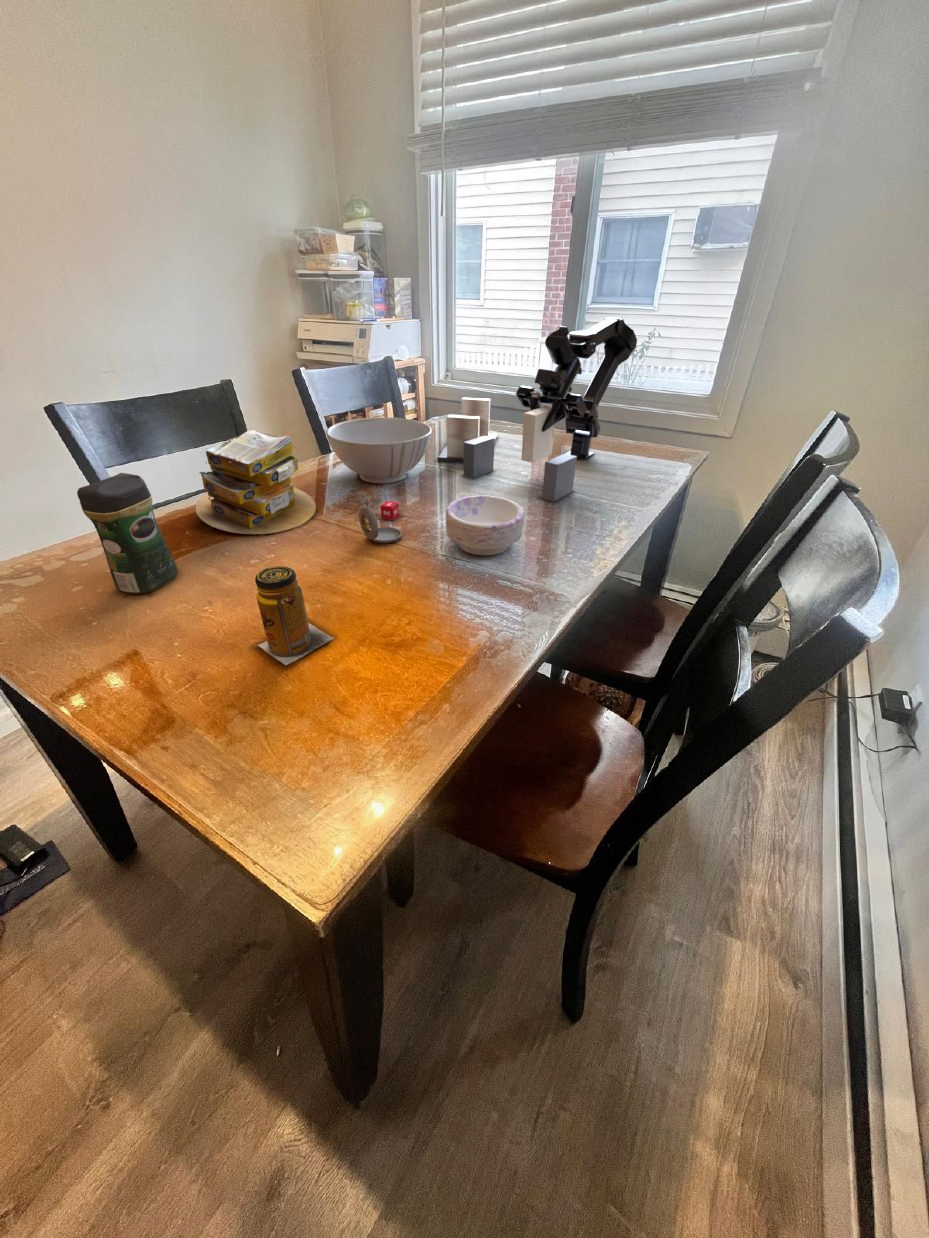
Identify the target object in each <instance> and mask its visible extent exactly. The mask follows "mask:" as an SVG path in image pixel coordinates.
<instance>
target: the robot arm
mask: <svg viewBox="0 0 929 1238" xmlns="http://www.w3.org/2000/svg"><path fill="white" fill-rule="evenodd" d="M544 344H545V347H546V350H547V352H548V355H549V357H550V359H551V361H552V363H553V364H554V365H556V366H555V368H554V370H552V369H544V368H538V369H537V372H536V375H535V376H536V377H535V379H534V383H535V384H537V385H539V388H538V389H539V391H540V392H542V393H540V392H538V391H535V389H534V387H532V386H526V385H521V386H519V387H518V389H517V390H516V392H515V395H516V397H517V399H518V401H519V403H520V404H521V406H522V407H523V408H526V409H529V411H532V410H535V409H538V408H541V407H542V405H547V406H548V405H549V406H551V408H552V409H551V411H550V413H549V415H548V417H547V419H546V421H545V422H544V425H543V427H542V431H543V432H545V431H546V430H547V429H549V428H550V427H551V426H553V425H554V426H555V424H558V423H559V422H560V421H562V420H564V421H565V433H566V434H571V442H570V443H571V444H570V450H569V451H568V452H566V453H565V454H569V455H573V456H577V459H583V460H585V459H588V458H590V457H591V456H592V455H594V452H593V451H591V445H592V439H593V438H598V436H599V434H600V431H601V426H600V423H599V420H598V419H599V411H598V406H599V405H600V403H601V401H602V398H604V395H605V393H606V391H607V389H608V388H609V385H610V383H611V381H612V379H613V377H614V375H615V373H616V371H617V370H618V368H619V366H620V365H621V364H623V363H624V362H626V361H627V360H629V359H630V357H631V355H632V354H633V352H634V351H635V350H636V347H637V344H638V338H637V335H636V333H635V330H633V329H632V328H631V327H630V326H629V325H627V324H626V323H625V320H624V318H621V317H612V316H608V317H605V318H604V319H603V320H602V321H600V322H599V323H597V324H595V325H593V326H591V327H590V328H588V329H586V330H575V331H571V332H570V331H569V328H568V326H562V325H561V326H559V328H558V329H557V330H555V331H552V332H551V333H550V334H549V335H547V336H546V338H545V342H544ZM601 344H603V351H604V356H603V359H602V361H601V362H600V364H599V366H598V368H597V370H596V372H595V374H594V375H593V378H592V379H591V382H590V383H589V385H588V386H587V387H588V388H587V389H586V392H585V393H584V395H583V396H582V394H576V393H571V392H572V390H573V387H572V385H573V383H574V381H575V378H576V377H577V375H582V373H583V368H582V362H581V361H580V359H585V360H588V359H590V358H591V357H592V356H594V354H595V353H596V351H597V347H598V346H599V345H601Z"/></svg>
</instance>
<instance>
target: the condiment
mask: <svg viewBox="0 0 929 1238" xmlns="http://www.w3.org/2000/svg"><path fill="white" fill-rule="evenodd" d="M254 581H255V582H254V583H255V586H256V591H257V593H256V603H257V606H258V609H259V613H260V617H261V621H262V626H263V631H264V635H265V638H266V640H265V641H264V642H262V643H261V642H260V643H259V644H257V646H258V647H259V648H261V649H262V650H263V651H264V652H265V653H267V654H268V655H270V656H271V657H272V658H274V659H275V660H276V661H278V662H280V663H282V665H284V666H288V665H290V664H291V663H294V662H296V661H298V660H299V659H300V658H301V659H302V658H303V657H305V656H306V655H309V653H311V652H313V651H315V650H316V649H318V648H320V647H322V646H323V645H325V644H327V643H328V642H330V641H332V640H334V639H335V637H333V636H332V635H330V634H327V633H326V632H324V631H323V630H321V629H320V628H317V627H316V626H314V625H312V623H310V622H309V620H308V615H307V609H306V603H305V600H304V599H305V598H304V594H303V590H302V588H301V586H300V585H299V582H298V579H297V574H296V572H295V570H294V569H292V568H290V567H288V566H284V565H283V566H282V565H279V566H278V565H276V566H270V567H266V568H265V569H263V570H261V571H259V572H258V573H257V574H256V575H255V579H254Z"/></svg>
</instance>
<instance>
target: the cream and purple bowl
mask: <svg viewBox="0 0 929 1238" xmlns="http://www.w3.org/2000/svg"><path fill="white" fill-rule="evenodd" d="M524 517H525V511H524V509H523V507H521V505H520V504H518V503H517V502H515V501H513V500H511V499H508V498H505V497H502V496H501V497H500V496H496V495H495V496H494V495H483V494H482V495H469V496H464V497H460V498H458V499H455V500H453V501H452V502H450V503H449V504H448V506H447V508H446V510H445V519H446V520H445V523H446V524H445V530H446V532H445V533H446V535H447V537H448V538H449V539H450V540H451V541H453V542H454V543H456V544H457V546H458V547H459V548H460V549H461V550H463V551H464V552H466V553H468V554H471V555H475V556H485V557H487V556H494V555H497V554H498V555H499V554H501V553H503V552H505V551H506V550H508V548H509V547H510V546H512V545H513V544H515V543H517V542H518V541H519V540H520V539H521V538H522V535H523V529H524V520H525V519H524Z"/></svg>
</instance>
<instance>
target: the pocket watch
mask: <svg viewBox="0 0 929 1238" xmlns="http://www.w3.org/2000/svg"><path fill="white" fill-rule="evenodd" d="M361 497H362V500H363V501H364V504H365V505H364V506H362V507H360V509H359V511H358V521H359V526H360V528H361V530H362V533H363V534H364V536H365V538H367V539H369V540H371V541H372V542H374V543H378V544H389V543H394V542H397V541H398V540H400V539H401V538H402V531H401V529H399V528H396V527H392V526H382V527H379V523H378V519H377V517H376V514H375V512H374V511H373V509H372V508H371V507H370V503H371V501H370V499H369V498H368V497H367V496H366V495H364V494H362V495H361Z"/></svg>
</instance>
